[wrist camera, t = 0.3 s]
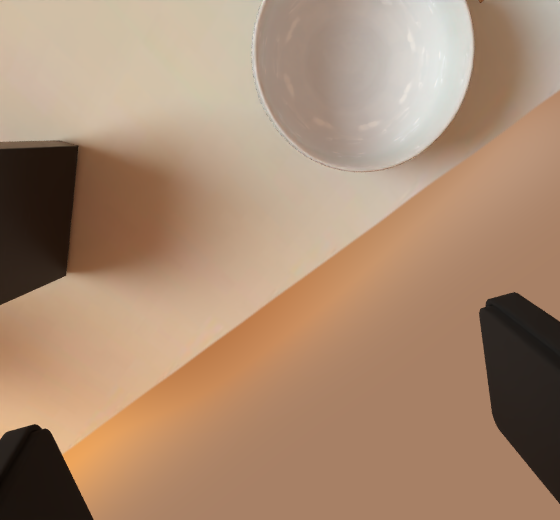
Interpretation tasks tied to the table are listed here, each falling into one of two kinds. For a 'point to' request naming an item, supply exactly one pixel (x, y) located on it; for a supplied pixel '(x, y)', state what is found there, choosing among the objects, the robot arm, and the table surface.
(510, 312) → the robot arm
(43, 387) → the table surface
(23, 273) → the towel holder
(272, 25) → the cereal bowl
